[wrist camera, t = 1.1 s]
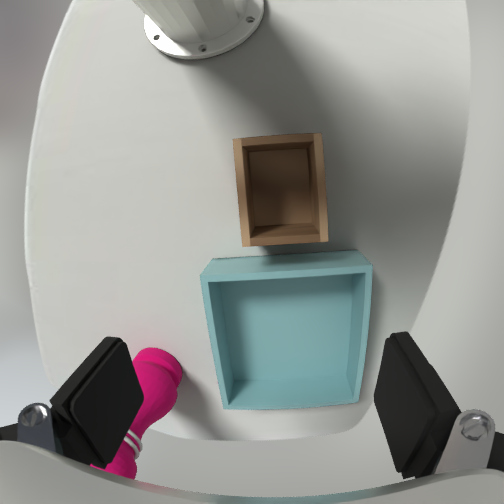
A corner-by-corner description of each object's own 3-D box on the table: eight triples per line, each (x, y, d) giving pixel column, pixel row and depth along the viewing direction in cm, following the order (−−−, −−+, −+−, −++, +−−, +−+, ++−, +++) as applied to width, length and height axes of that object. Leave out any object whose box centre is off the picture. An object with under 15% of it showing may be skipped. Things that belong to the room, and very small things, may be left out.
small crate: (242, 147, 26) (232, 139, 20) (311, 142, 25) (321, 132, 19) (249, 231, 28) (242, 247, 22) (317, 227, 27) (328, 241, 21)
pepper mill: (194, 361, 32) (132, 506, 13) (176, 397, 34) (122, 521, 15) (140, 333, 32) (45, 455, 13) (128, 371, 34) (52, 482, 14)
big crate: (212, 258, 29) (199, 275, 24) (357, 249, 27) (372, 264, 22) (230, 380, 32) (223, 409, 28) (349, 374, 31) (358, 402, 26)
